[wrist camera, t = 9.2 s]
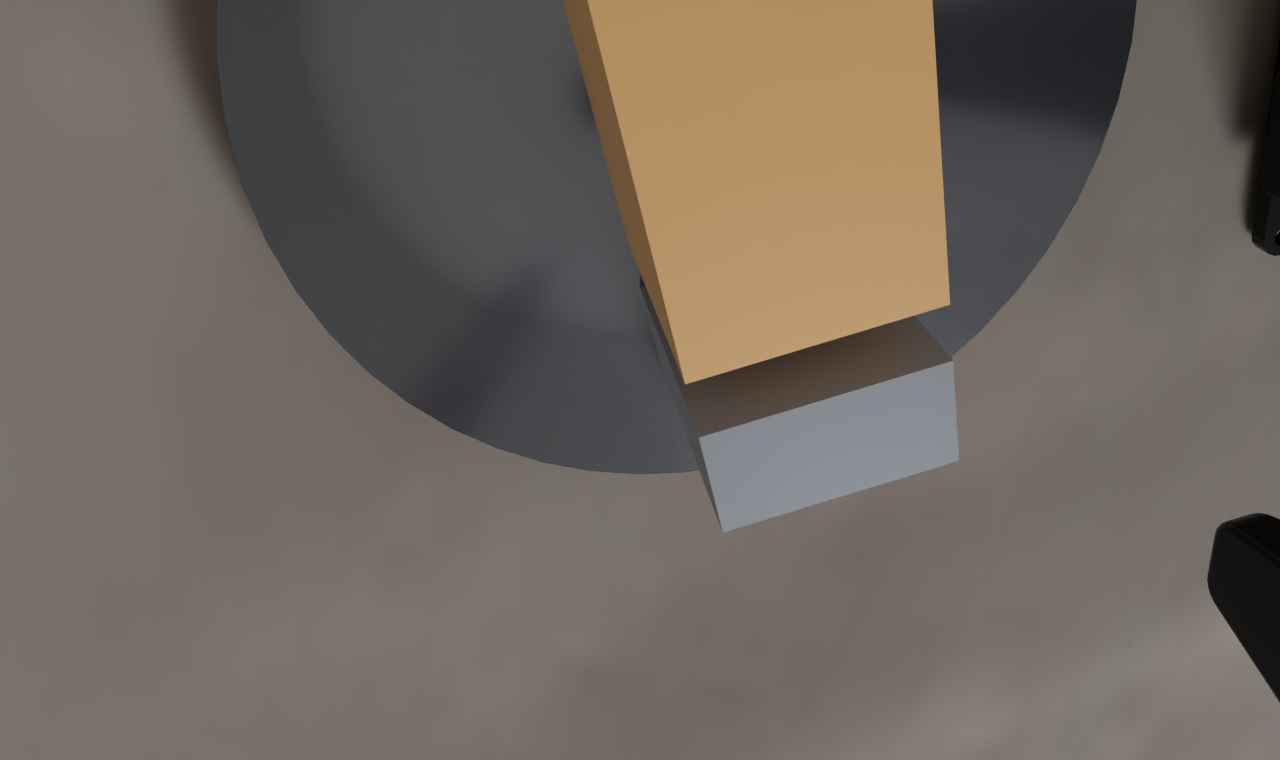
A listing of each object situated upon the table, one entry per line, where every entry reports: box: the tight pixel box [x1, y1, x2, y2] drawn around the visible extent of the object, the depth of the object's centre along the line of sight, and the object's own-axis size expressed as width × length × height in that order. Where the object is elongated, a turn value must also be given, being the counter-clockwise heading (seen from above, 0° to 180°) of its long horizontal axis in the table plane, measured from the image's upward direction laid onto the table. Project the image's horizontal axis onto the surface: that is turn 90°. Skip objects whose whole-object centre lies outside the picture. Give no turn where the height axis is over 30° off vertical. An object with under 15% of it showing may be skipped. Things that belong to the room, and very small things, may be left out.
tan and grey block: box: [563, 0, 959, 532], centre depth 15 cm, size 4×9×5 cm, turn 13°
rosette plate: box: [217, 0, 1137, 474], centre depth 17 cm, size 16×16×3 cm
